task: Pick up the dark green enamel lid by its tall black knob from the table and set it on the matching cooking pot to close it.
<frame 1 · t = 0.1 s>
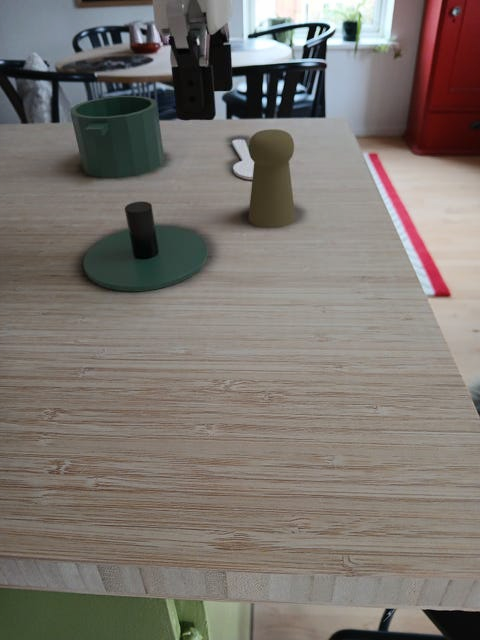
hand: (207, 103, 46), 17 cm above the table, tool pointing down, fingers open, 9 cm apart
cooker pot: (125, 168, 82), on the table
spoon: (245, 160, 83), on the table
pot lid: (146, 257, 57), point 1 cm above the table
pepper mill: (271, 222, 65), on the table
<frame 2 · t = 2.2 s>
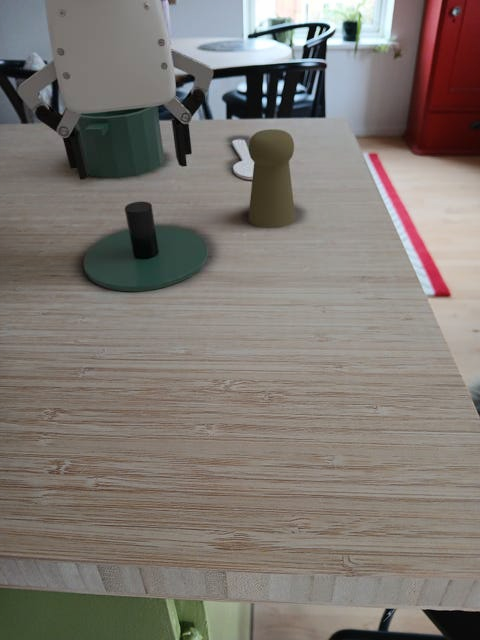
hand: (133, 168, 51), 11 cm above the table, tool pointing down, fingers open, 9 cm apart
nothing on the table moved.
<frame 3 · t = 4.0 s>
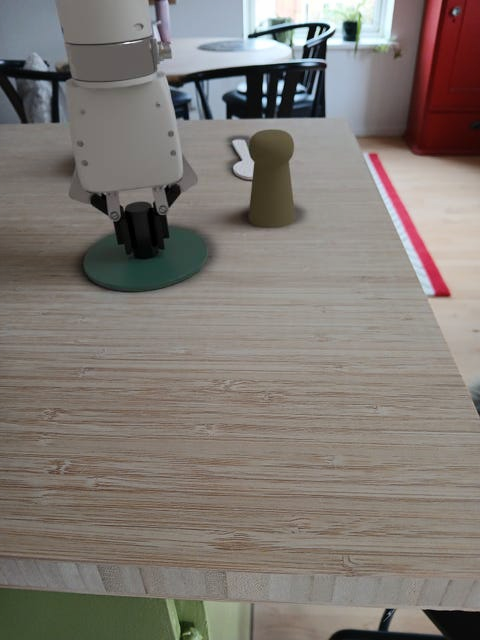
hand: (144, 245, 56), 2 cm above the table, tool pointing down, fingers closed on pot lid, 2 cm apart
pot lid: (146, 257, 57), point 1 cm above the table, touching gripper
everything else where it was.
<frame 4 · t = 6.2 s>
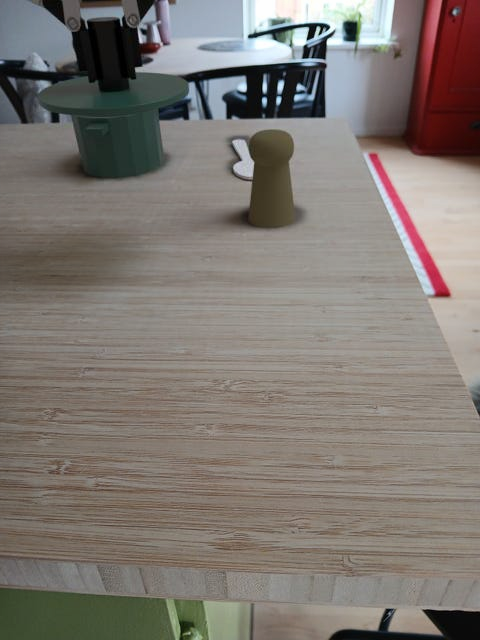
hand: (112, 76, 46), 19 cm above the table, tool pointing down, fingers closed on pot lid, 2 cm apart
pot lid: (115, 95, 47), point 18 cm above the table, touching gripper
everything else where it was.
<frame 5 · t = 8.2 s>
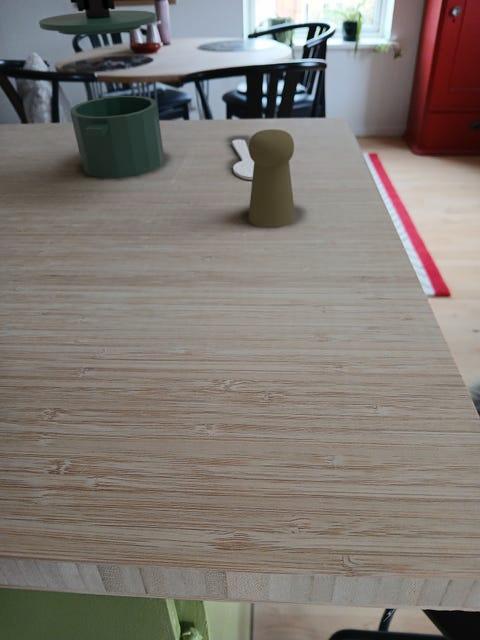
hand: (96, 7, 60), 23 cm above the table, tool pointing down, fingers closed on pot lid, 2 cm apart
pot lid: (99, 23, 61), point 21 cm above the table, touching gripper
everything else where it was.
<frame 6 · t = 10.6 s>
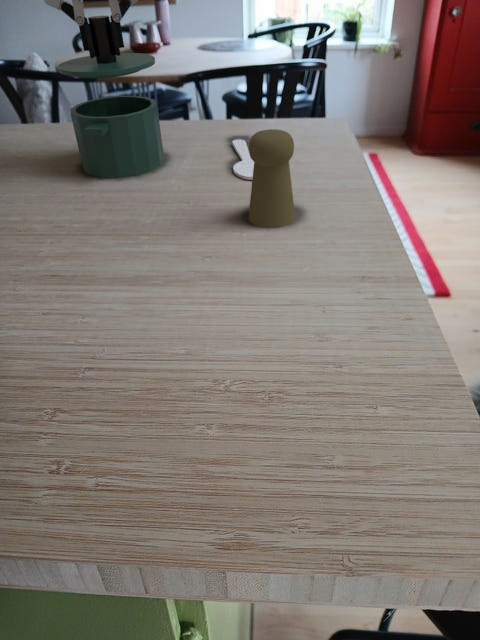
hand: (105, 53, 72), 16 cm above the table, tool pointing down, fingers closed on pot lid, 2 cm apart
pot lid: (107, 66, 73), point 15 cm above the table, touching gripper
everything else where it was.
when the fingers open (11 cm above the table, at t = 12.2 s): pot lid stays where it is, resting on cooker pot.
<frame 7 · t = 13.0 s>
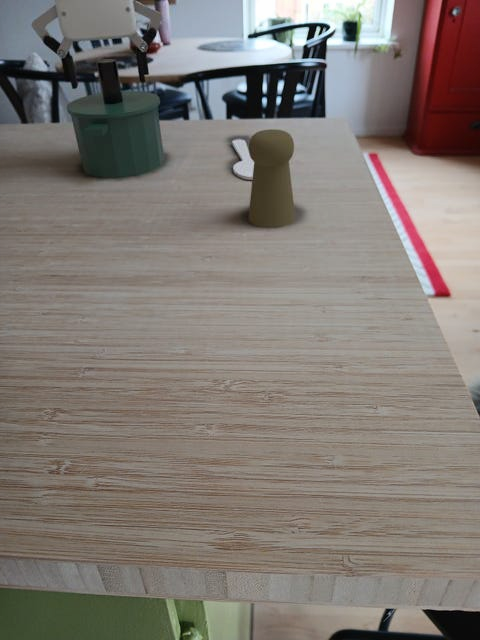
hand: (109, 83, 74), 13 cm above the table, tool pointing down, fingers open, 9 cm apart
pot lid: (114, 106, 76), point 9 cm above the table, touching cooker pot
everything else where it was.
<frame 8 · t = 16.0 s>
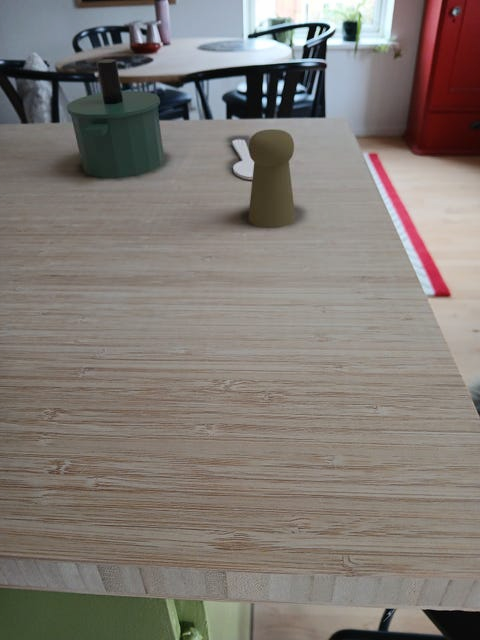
nothing on the table moved.
at the end: pot lid 0.1 cm off-centre on the cooker pot, point 9.5 cm above the cooker pot's base; pot lid tilted 0°; the gripper is holding nothing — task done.
